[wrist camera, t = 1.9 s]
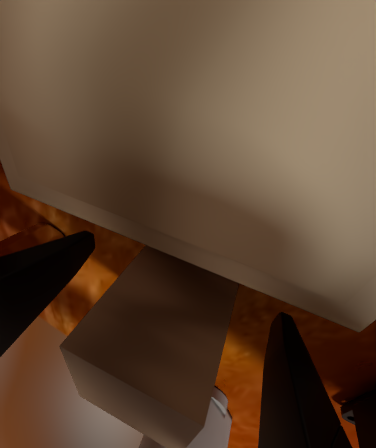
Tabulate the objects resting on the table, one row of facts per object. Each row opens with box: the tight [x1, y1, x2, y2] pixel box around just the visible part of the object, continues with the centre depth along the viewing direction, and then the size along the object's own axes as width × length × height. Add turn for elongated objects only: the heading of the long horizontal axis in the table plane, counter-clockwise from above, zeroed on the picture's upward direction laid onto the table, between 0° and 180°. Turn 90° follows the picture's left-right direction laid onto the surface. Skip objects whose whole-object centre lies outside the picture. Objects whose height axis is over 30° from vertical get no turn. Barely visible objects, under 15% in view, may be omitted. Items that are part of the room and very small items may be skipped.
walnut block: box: [60, 245, 239, 448], centre depth 10 cm, size 5×5×6 cm
